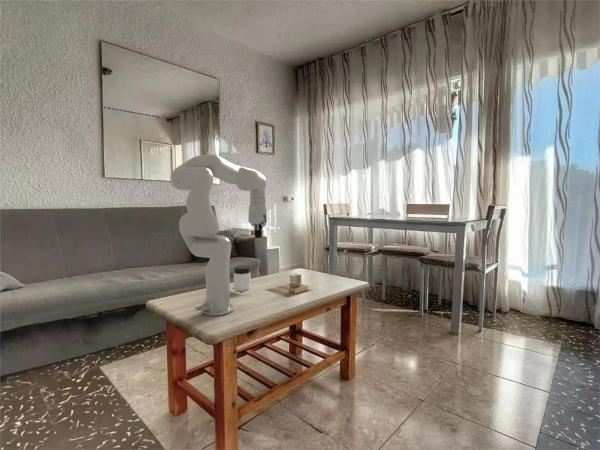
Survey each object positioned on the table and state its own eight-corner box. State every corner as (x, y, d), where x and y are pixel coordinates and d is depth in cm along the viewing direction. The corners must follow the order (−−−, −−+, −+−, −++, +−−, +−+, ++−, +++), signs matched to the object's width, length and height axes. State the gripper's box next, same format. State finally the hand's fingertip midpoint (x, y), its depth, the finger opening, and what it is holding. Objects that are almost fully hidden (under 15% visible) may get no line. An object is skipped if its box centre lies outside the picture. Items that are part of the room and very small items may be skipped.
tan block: (294, 292, 151) (294, 276, 150) (289, 290, 153) (289, 274, 153) (301, 290, 154) (301, 274, 154) (296, 289, 157) (296, 273, 156)
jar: (237, 293, 153) (236, 269, 152) (231, 289, 160) (230, 266, 159) (253, 290, 158) (253, 267, 157) (247, 287, 165) (247, 264, 164)
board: (288, 299, 143) (287, 297, 143) (265, 292, 155) (265, 289, 155) (313, 292, 155) (313, 289, 155) (290, 285, 167) (290, 283, 167)
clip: (294, 294, 148) (294, 289, 148) (289, 292, 151) (289, 287, 150) (307, 290, 154) (307, 285, 154) (302, 288, 157) (302, 284, 157)
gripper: (243, 201, 158) (243, 237, 159) (260, 201, 147) (261, 239, 149) (255, 201, 163) (255, 236, 165) (273, 201, 153) (273, 238, 154)
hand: (258, 237), depth 157 cm, fingers closed
